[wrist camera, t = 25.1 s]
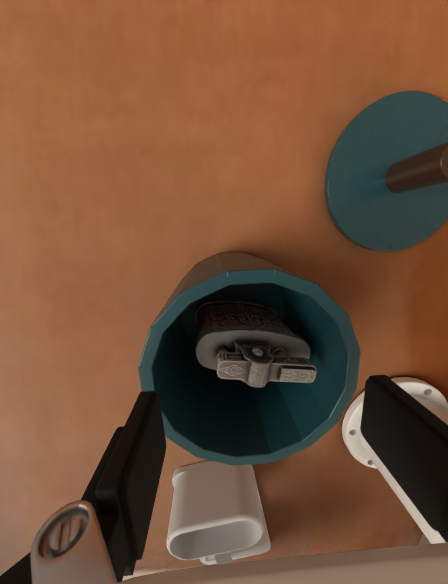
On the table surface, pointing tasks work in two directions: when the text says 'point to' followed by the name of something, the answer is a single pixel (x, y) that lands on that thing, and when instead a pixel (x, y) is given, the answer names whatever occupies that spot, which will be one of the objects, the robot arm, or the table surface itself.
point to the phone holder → (216, 514)
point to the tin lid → (391, 172)
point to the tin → (235, 393)
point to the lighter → (250, 344)
